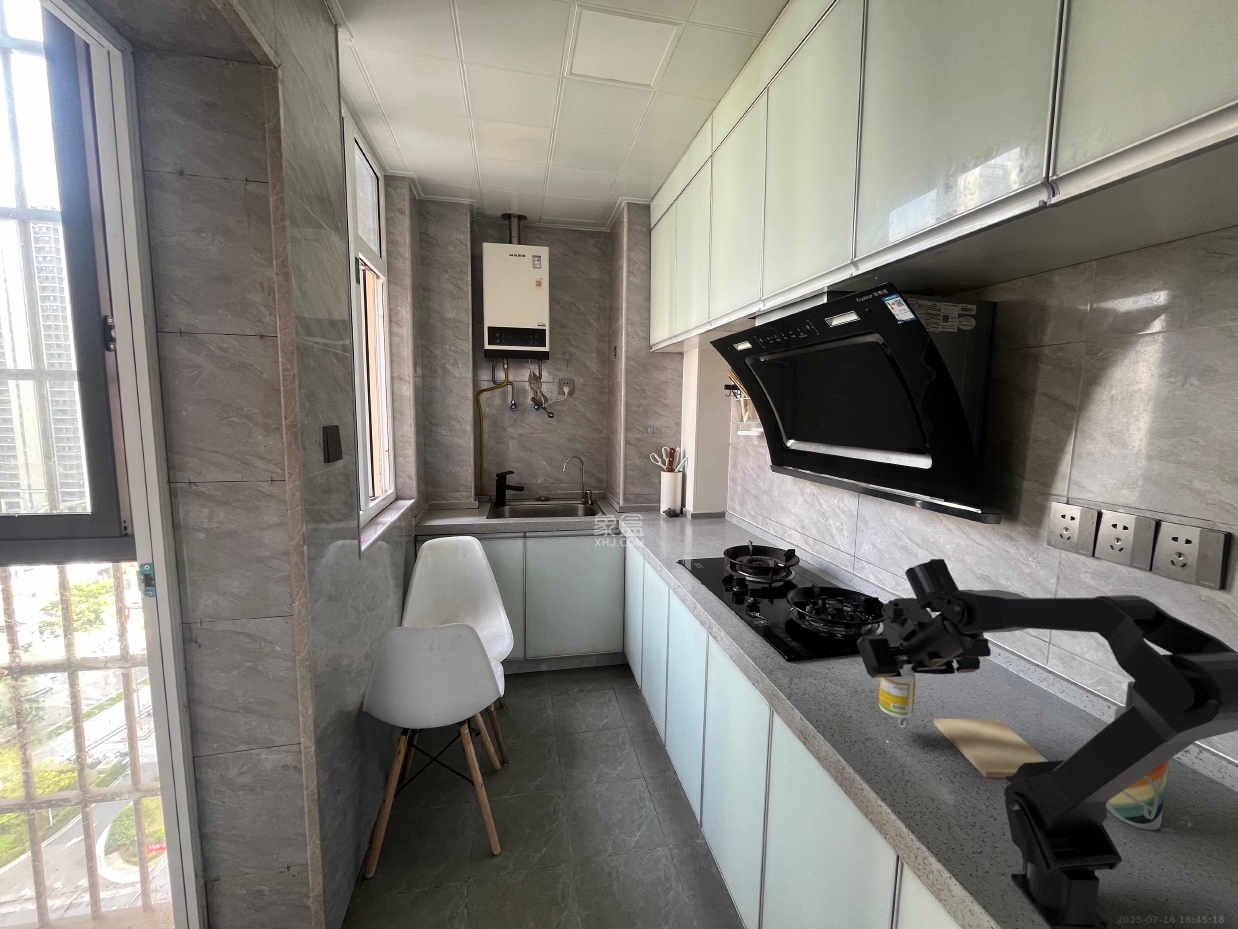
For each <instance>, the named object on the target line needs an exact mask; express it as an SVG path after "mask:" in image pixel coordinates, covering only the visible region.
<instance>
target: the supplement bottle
mask: <svg viewBox="0 0 1238 929" xmlns="http://www.w3.org/2000/svg"><path fill="white" fill-rule="evenodd" d="M903 659H905V658H903ZM906 659H907V658H906ZM911 668H912V665H904V667H903V669H902V670H900V672H901V675H902V677H879V694H878V695H879V696H878V706H879V708H880V709H881V710H882V712H884V713H886V714H887V715H890V716H892V717H895V718H901V719H907V718H910V717H912V716H913V714H914V712H915V708H914V707H915V694H916V693H915V692H916V673H914V672H913V671H912V670H911Z"/></svg>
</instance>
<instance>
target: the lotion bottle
mask: <svg viewBox="0 0 1238 929" xmlns="http://www.w3.org/2000/svg"><path fill="white" fill-rule="evenodd" d="M1133 682H1134V681H1128V682H1127V688H1126V695H1125V703H1124V704H1125V705H1123V706H1121V705H1120V706H1118V707H1117V708H1116V709H1115V711H1114V718H1113V721H1114V720H1115V719H1116V718H1117V717H1118V716H1120V715H1121V714H1122V713H1123V712H1125V711H1126V710H1127V709H1128V708H1129V707H1130V706H1131V705H1132V684H1133ZM1169 763H1170V759H1169V760H1168V761H1166V762H1165V763H1163V764H1162V765H1160V766H1159V767H1157V768H1156V769H1154V770H1153V771H1151V772H1150V773H1148V774H1147V775H1146V776H1144V777H1143V778H1141V779H1140V780H1138V781H1137V782H1135V783H1134V784H1132V785H1131V786H1129V787H1128V788H1126V789H1125V790H1124V791H1122V792H1121V793H1119V794H1118V795H1116V796H1115V797H1113V798H1112V799H1110V800H1109V801H1108V802H1107V803H1106V809H1107V811H1108V812H1110V813H1111V814H1112V815H1113V816H1114V817H1116V818H1117V819H1118V820H1120V821H1122V822H1124V823H1125V824H1127V825H1131V826H1133V827H1135V828H1137V829H1141V830H1145V831H1146V830H1147V831H1155V830H1157V829H1159V828H1160V826H1161V823H1162V819H1163V818H1162V817H1163V816H1162V815H1163V810H1164V802H1165V801H1164V800H1165V795H1166V794H1165V793H1166V786H1167V778H1168V771H1169Z"/></svg>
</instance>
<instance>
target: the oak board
mask: <svg viewBox="0 0 1238 929" xmlns="http://www.w3.org/2000/svg"><path fill="white" fill-rule="evenodd" d="M933 725H935V727H936V728H938V730H939V731H940V732H941V733H942V734H943V735H944V736H945V737H946V738H947V739H948V740H949V741H950V742H951V743H952V745H954V746H955V747H956V748H957V749H958V751H959V752H960V753H961V754H962V755H963V756H964V757H965V758H966V759H967V760H968V761H969V762H970V763H971V764H972V765H973V766H974V768H975V769H977V771H979V773H981V774H982V775H983V777H984V778H990V779H992V778H995V779H1006V776H1012V775H1014V774H1015V773H1016V772H1017V770H1018V768H1019V767H1020V766H1021V765H1022V764H1024V763H1029V762H1044V761H1049V760H1048V759H1046V758H1045V757H1044V756H1043V755H1042V754H1040V753H1039V752H1038V751H1037V750H1036V749H1034V747H1033V746H1031V745H1030V744H1028V743H1027V742H1026V741H1025V740H1024V739H1023V738H1021V737H1020V736H1019V735H1018V734H1017V733H1015V732H1014V730H1012V729H1011V728H1010V727H1009V726H1007V725H1006V724H1005V723H1004V722H1002V721H1001V720H1000V719H969V718H965V719H964V718H933Z"/></svg>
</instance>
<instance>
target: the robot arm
mask: <svg viewBox="0 0 1238 929" xmlns="http://www.w3.org/2000/svg"><path fill="white" fill-rule="evenodd" d="M904 575H905V577H906V579H907V581H908V584H909V585H910V588H911V590H912V592H913V594H914V596H915V598H914V597H903V598H902V597H898V598H894V599H891V600H890V599H889V600H888V602H887V603H885V602H884V604H883V607H882V608H881V615H882V616H883V617H884V619H885V621H887V623H888V624H896V626H897V628H898V629H899V631H898V632H897V633H896V634H897V636H898V638H899V640H900V641H903V642H900V643H898V646H899V648H900V649H893V648H891V645H890V643H889V640H888V638H887V637H886V636H884V635H883V634H875V635H862V636H861V637H859V638H858V640H857V641H856V647H857V649H858V651H859V653H860V657H861V659H862V663H863V665H864V667H865V670H866V673H867V675H868V676H869V677H871V678H872V679H874V678H875V679H876V678H877V679H878V678H880V677H902V675H901V672H900V670H902V669H903V667H904V665H912V668H911V670H912V671H913V672H914V673H915V674H924V675H926V674H927V675H928V674H929V675H953V674H955V673H957V674H965V673H967V674H968V673H969V674H970V673H974V672H976V671H978V670H980V667H981V659H980V658H981V657H982V658H983V657H984V658H985V657H986V658H987V657H988V658H989V657H991V654H992V653H991V652H992V650H991V647H990V646H989V643H990V642H989V639H987V638H985V635H984V634H991V633H992V634H993V633H1011V632H1017V631H1023V630H1028V629H1032V630H1035V629H1036V630H1050V631H1067V632H1080V633H1081V632H1082V633H1097V634H1098V635H1099V636H1101V637H1102V638H1103V639H1104V640H1106V642H1107V643H1108V645H1109V648H1110V650H1111V652H1112V654H1113V656H1114V658H1115V660H1116V663H1117V664H1118V666H1119V667H1120V668H1121V669H1122V670H1123V671H1124V672H1126V673H1127V675H1129V676H1130V677H1131V678H1132V679H1133V680H1134V681H1132V682H1133V684H1132V705H1131V706H1130V707H1129V708H1128V709H1127V710H1126V711H1125V712H1123V713H1122V714H1121V715H1120V716H1118V717H1117V718H1116V719H1115V720H1114V719H1113V721H1111V722H1109V724H1108V725H1106V726H1105V727H1104V728H1102V729H1101V730H1100V731H1099V732H1098V733H1096V734H1095V735H1094V736H1093V737H1092V738H1090V739H1089V740H1088V741H1087V742H1086V743H1084V744H1083V745H1082V746H1081V747H1079V748H1078V749H1077V750H1076V751H1075V752H1073V753H1072V754H1071V755H1070V756H1069V757H1067V758H1066V759H1061V760H1059V759H1058V760H1048V761H1044V762H1029V763H1024V764H1022V765H1021V766H1020V767H1019V768H1018V770H1017V772H1016V773H1015V774H1014V775H1012V776H1006V778H1005V779H1006V781H1008V782H1009V783H1007V784H1006V786H1005V788H1004V791H1003V794H1004V797H1005V799H1004V805H1005V810H1006V815H1007V820H1008V824H1009V825H1008V826H1009V829H1010V835H1011V841H1012V843H1013V844H1014V845H1015V846H1016V847H1017V848H1018V849H1019V850H1020V852H1021V857H1022V860H1023V861H1022V872H1023V873H1011V874H1010V880H1011V881H1012V882H1013V884H1014V885H1015V886H1016V887H1017V889H1018V890H1019V892H1021V894H1022V895H1023V896H1024V897H1025V899H1027V901H1028V903H1030V905H1031V906H1032V907H1033V909H1034V910H1035V911H1036V912H1037V913H1038V914H1039V916H1040V917H1041V918H1042V920H1043V921H1044V923H1046V925H1048V927H1050V928H1051V929H1109V928H1110V926H1109V924H1108V923H1107V922H1106V921H1105V919H1104V918H1103V917H1101V915H1100V914H1099V913H1098V912H1097V905H1098V898H1099V888H1100V878H1099V877H1098V876H1097V874H1096V871H1102V870H1109V871H1113V870H1116V869H1117V868H1118V867H1119V865H1120V864H1121V863H1122V862H1123V858H1122V856H1121V855H1120V853H1119V851H1118V849H1117V847H1116V845H1115V844H1114V841H1113V840H1112V838H1111V836H1110V835H1109V832H1108V831H1107V829H1106V827H1105V825H1104V822H1105V821H1106V819H1107V817H1108V809H1107V807H1106V803H1107V802H1108V801H1109V800H1110V799H1112V798H1113V797H1115V796H1116V795H1118V794H1119V793H1121V792H1122V791H1124V790H1125V789H1126V788H1128V787H1129V786H1131V785H1132V784H1134V783H1135V782H1137V781H1138V780H1140V779H1141V778H1143V777H1144V776H1146V775H1147V774H1148V773H1150V772H1151V771H1153V770H1154V769H1156V768H1157V767H1159V766H1160V765H1162V764H1163V763H1165V762H1166V761H1168V760H1169V761H1170V759H1172V758H1174V757H1175V756H1176V755H1178V754H1179V753H1180V752H1183V751H1184V750H1186V749H1187V748H1188V747H1190V746H1191V745H1193V744H1194V743H1195V742H1197V741H1201V740H1204V739H1208V738H1213V737H1217V736H1220V735H1221V736H1222V735H1225V734H1229V733H1232V732H1233V733H1234V732H1238V651H1236V650H1235V649H1233V648H1232V647H1231V646H1229V645H1228V644H1226V643H1225V642H1224V641H1222V640H1221V639H1219V638H1217V637H1216V636H1215V635H1212V634H1209V632H1206V631H1204V630H1202V629H1199V628H1198V627H1195V626H1193V625H1192V624H1189V623H1187V622H1185V621H1183V620H1182V619H1181V620H1180V619H1179V618H1177V617H1175V616H1172V615H1170V614H1169V613H1168V612H1166V611H1165V610H1163V609H1162V608H1161V607H1160V606H1158V605H1157V604H1155V603H1154V602H1153V601H1151V600H1149V599H1147V598H1144V597H1142V596H1140V595H1135V594H1121V595H1119V594H1118V595H1117V594H1116V595H1098V596H1095V597H1029V596H1024V595H1021V594H1020V593H1017V592H1013V591H1007V590H1003V589H981V590H980V589H978V590H975V589H959V587H958V585H957V584H956V582H955V579H954V578H953V576H952V574H951V572H950V570H949V568H948V565H947V563H946V561H945V559H944V558H930V560H929V561H927V562H924V563H919V564H917V565H914V566H913V567H909V568H907V569H906V570H905V572H904ZM928 609H929V610H928ZM932 613H934V614H935V613H938V614H936V615H935V616H934V617H933V614H932ZM1149 643H1151V644H1153V645H1154V646H1157V647H1159V648H1160V649H1162V650H1164V651H1166V652H1168V653H1170V654H1161V653H1160V652H1158V651H1157V650H1156V649H1155V648H1153V647H1152V646H1151V645H1150V644H1149ZM903 658H905V659H903ZM906 658H907V659H906ZM954 662H956V664H957V666H956V667H955V666H954Z"/></svg>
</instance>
